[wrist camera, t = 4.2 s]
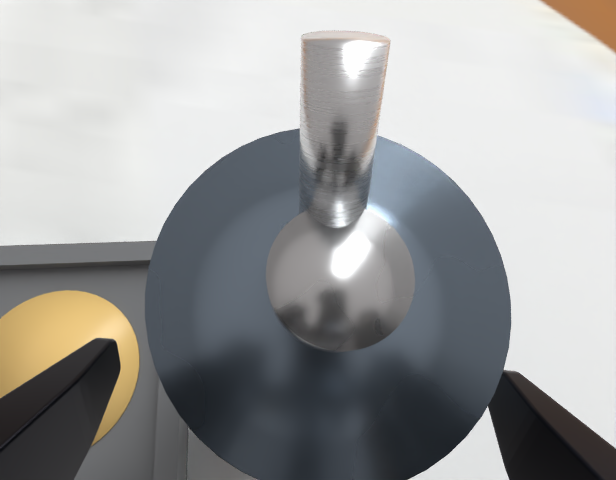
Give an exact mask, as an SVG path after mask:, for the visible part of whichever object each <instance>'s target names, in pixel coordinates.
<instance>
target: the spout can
mask: <svg viewBox="0 0 616 480" xmlns="http://www.w3.org/2000/svg"><path fill="white" fill-rule="evenodd" d="M389 48H390V39H389V38H387V37H384V36H381V35H377V34H372V33H365V32H355V31H318V32H311V33H306V34H303V35H302V36H301V80H300V129H294V130H289V131H283V132H279V133H275V134H272V135H269V136H266V137H262V138H259V139H257V140H255V141H253V142H250V143H248V144H246V145H243V146H241V147H239V148H238V149H236V150H234V151H233V152H231V153H229V154H228V155H226V156H224V157H223V158H221V159H220V160H219V161H217V162H216V163H215V164H213V165H212V166H211V167H210V168H208V169H207V170H206V171H205V172H204V173H203V174H202V175H201V176H199V177H198V178H197V179H196V180H195V181H194V182H193V183H192V184H191V185H190V186H189V188H188V189H187V190H186V192H185V193H184V194H183V195H182V197H181V198H180V199H179V201H178V202H177V203H176V204H175V206H174V208H173V210H172V211H171V213H170V215H169V216H168V218H167V220H166V221H165V223H164V225H163V227H162V230H161V232H160V234H159V237H158V239H157V241H156V244H155V247H154V250H153V254H152V257H151V261H150V264H149V268H148V275H147V282H146V289H145V323H146V330H147V338H148V344H149V348H150V351H151V355H152V359H153V362H154V366H155V369H156V371H157V374H158V376H159V378H160V381H161V383H162V385H163V388H164V390H165V392H166V394H167V396H168V397H169V399H170V401H171V402H172V404H173V406H174V407H175V409H176V411H177V412H178V414H179V415H180V417H181V418H182V419H183V420H184V422H185V423H186V424H187V425H188V426H189V428H190V429H191V430H192V431H193V433H194V434H195V435H196V436H197V437H198V438H199V439H200V440H201V441H202V442H203V443H204V444H205V445H207V446H208V447H209V448H210V449H211V450H212V451H213V452H214V453H215V454H216V455H218V456H219V457H220V458H222V459H223V460H225V461H226V462H228V463H229V464H231V465H232V466H234V467H235V468H237V469H238V470H240V471H241V472H243V473H245V474H248V475H250V476H252V477H254V478H256V479H258V480H408V479H410V478H412V477H414V476H415V475H417V474H419V473H421V472H423V471H425V470H427V469H428V468H430V467H431V466H433V465H434V464H435V463H437V462H438V461H439V460H441V459H442V458H444V457H445V456H446V455H448V454H449V453H450V452H451V451H452V450H453V449H454V448H455V447H456V446H457V445H458V444H459V443H460V442H461V441H462V440H463V439H464V438H465V437H466V436H467V435H468V434H469V432H470V431H471V430H472V428H473V427H474V426H475V424H476V423H477V422H478V421H479V419H480V418H481V417H482V415H483V413H484V411H485V410H486V408H487V406H488V404H489V402H490V401H491V399H492V397H493V395H494V393H495V391H496V388H497V385H498V383H499V380H500V378H501V375H502V373H503V369H504V365H505V361H506V357H507V352H508V348H509V340H510V330H511V301H510V294H509V287H508V281H507V275H506V272H505V268H504V265H503V261H502V258H501V254H500V252H499V250H498V247H497V245H496V242H495V240H494V238H493V235H492V233H491V231H490V230H489V228H488V226H487V224H486V223H485V221H484V219H483V217H482V215H481V214H480V213H479V211H478V210H477V208H476V207H475V206H474V204H473V203H472V201H471V200H470V199H469V197H468V196H467V195H466V194H465V193H464V192H463V191H462V190H461V189H460V187H459V186H458V185H457V184H456V183H455V182H454V181H453V180H452V179H451V178H450V177H448V176H447V175H446V174H445V173H444V172H443V171H442V170H440V169H439V168H438V167H437V166H435V165H434V164H433V163H431V162H430V161H428V160H427V159H425V158H424V157H422V156H421V155H419V154H418V153H416V152H414V151H412V150H410V149H408V148H406V147H405V146H403V145H401V144H398V143H396V142H393V141H391V140H388V139H386V138H383V137H380V136H377V132H378V125H379V118H380V111H381V104H382V97H383V90H384V83H385V76H386V69H387V62H388V55H389Z"/></svg>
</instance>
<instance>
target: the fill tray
mask: <svg viewBox="0 0 616 480" xmlns="http://www.w3.org/2000/svg"><path fill="white" fill-rule="evenodd" d="M155 244H156V241H140V242H109V243H77V244H45V245H14V246H0V398H1V397H3V396H4V395H6V394H8V393H9V392H11V391H12V390H14V389H16V388H17V387H19V386H20V385H22V384H23V383H25V382H27V381H28V380H30V379H31V378H33V377H35V376H36V375H38V374H39V373H41V372H42V371H44V370H46V369H47V368H49V367H50V366H52V365H53V364H55V363H57V362H58V361H60V360H61V359H63V358H65V357H66V356H68V355H69V354H71V353H72V352H74V351H76V350H77V349H79V348H80V347H82V346H83V345H85V344H87V343H88V342H90V341H91V340H93V339H95V338H110V339H114V340H115V341H116V342H117V346H118V352H119V357H120V363H121V370H120V374H119V377H118V380H117V382H116V385H115V387H114V390H113V393H112V395H111V398H110V400H109V403H108V406H107V408H106V411H105V413H104V416H103V418H102V421H101V424H100V426H99V429H98V431H97V434H96V436H95V438H94V441H93V443H92V445H91V447H90V449H89V451H88V453H87V455H86V457H85V459H84V461H83V463H82V465H81V467H80V469H79V471H78V473H77V475H76V477H75V479H74V480H186V474H187V446H188V425H187V424H186V423H185V422H184V420H183V419H182V418H181V417H180V415H179V414H178V412H177V411H176V409H175V407H174V406H173V404H172V402H171V401H170V399H169V397H168V396H167V394H166V392H165V390H164V388H163V385H162V383H161V381H160V378H159V376H158V374H157V371H156V369H155V366H154V362H153V359H152V355H151V351H150V348H149V344H148V338H147V330H146V323H145V289H146V282H147V275H148V268H149V264H150V261H151V257H152V254H153V250H154V247H155Z"/></svg>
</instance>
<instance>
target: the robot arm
mask: <svg viewBox="0 0 616 480" xmlns="http://www.w3.org/2000/svg"><path fill="white" fill-rule="evenodd" d="M120 370H121V363H120V357H119V352H118V346H117V342H116V341H115V340H114V339H110V338H95V339H93V340H91V341H90V342H88V343H87V344H85V345H83V346H82V347H80V348H79V349H77V350H76V351H74V352H72V353H71V354H69V355H68V356H66V357H65V358H63V359H61V360H60V361H58V362H57V363H55V364H53V365H52V366H50V367H49V368H47V369H46V370H44V371H42V372H41V373H39V374H38V375H36V376H35V377H33V378H31V379H30V380H28V381H27V382H25V383H23V384H22V385H20V386H19V387H17V388H16V389H14V390H12V391H11V392H9V393H8V394H6V395H4V396H3V397H1V398H0V480H74V479H75V477H76V475H77V473H78V471H79V469H80V467H81V465H82V463H83V461H84V459H85V457H86V455H87V453H88V451H89V449H90V447H91V445H92V443H93V441H94V438H95V436H96V434H97V431H98V429H99V426H100V424H101V421H102V418H103V416H104V413H105V411H106V408H107V406H108V403H109V400H110V398H111V395H112V393H113V390H114V387H115V385H116V382H117V380H118V377H119V374H120ZM488 408H489V412H490V415H491V419H492V423H493V426H494V430H495V433H496V437H497V441H498V444H499V448H500V452H501V455H502V459H503V462H504V465H505V469H506V472H507V474H508V477H509V480H616V449H615V448H614V447H613V446H612V445H610V444H609V443H608V442H607V441H605V440H604V439H603V438H601V437H600V436H599V435H598V434H596V433H595V432H594V431H593V430H591V429H590V428H589V427H588V426H586V425H585V424H584V423H582V422H581V421H580V420H579V419H577V418H576V417H575V416H574V415H572V414H571V413H570V412H568V411H567V410H566V409H565V408H563V407H562V406H561V405H560V404H558V403H557V402H556V401H554V400H553V399H552V398H551V397H549V396H548V395H547V394H546V393H544V392H543V391H542V390H541V389H539V388H538V387H537V386H535V385H534V384H533V383H532V382H530V381H529V380H528V379H527V378H525V377H524V376H523V375H521V374H520V373H518V372H516V371H507V370H503V373H502V375H501V378H500V380H499V383H498V385H497V388H496V391H495V393H494V395H493V397H492V399H491V401H490V402H489V404H488Z"/></svg>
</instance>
